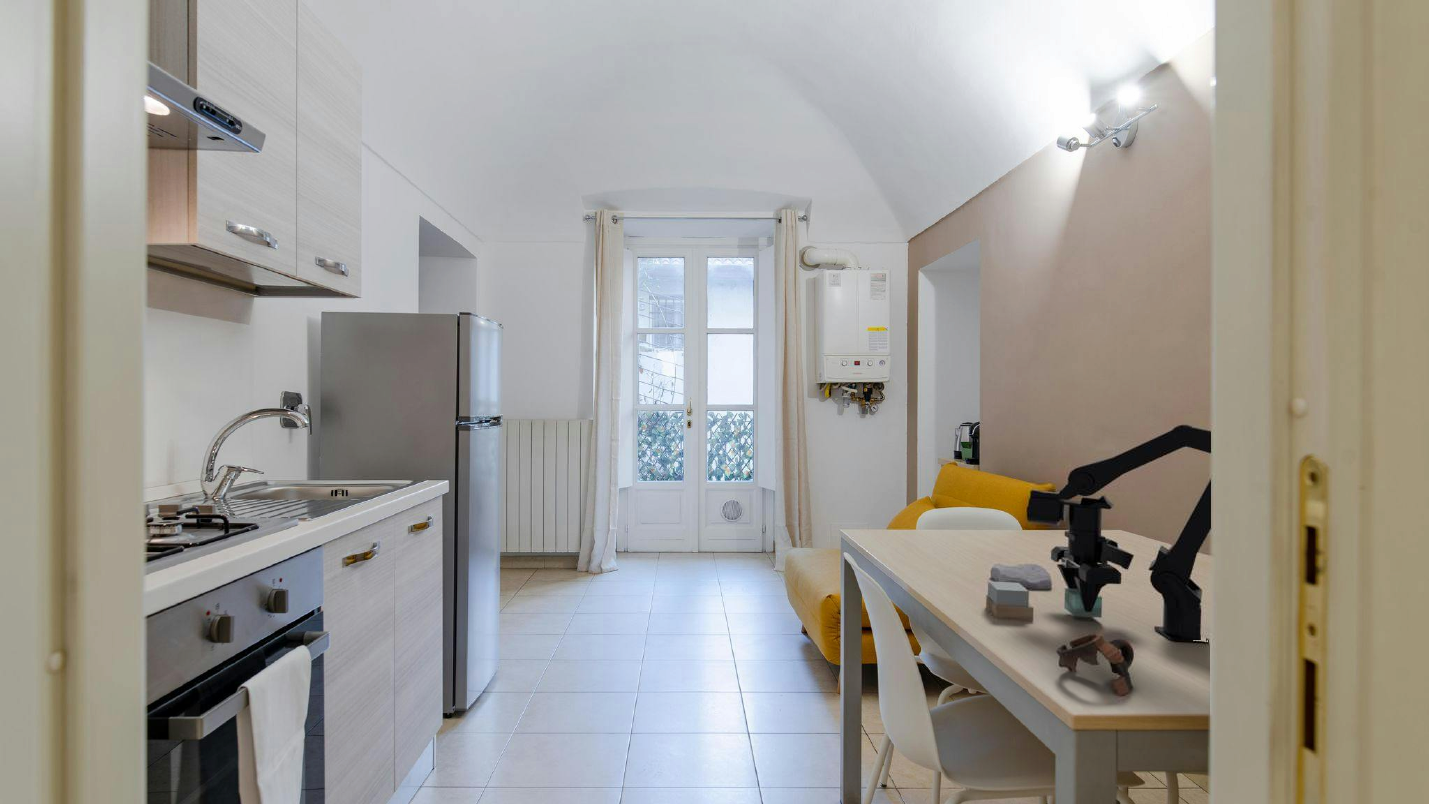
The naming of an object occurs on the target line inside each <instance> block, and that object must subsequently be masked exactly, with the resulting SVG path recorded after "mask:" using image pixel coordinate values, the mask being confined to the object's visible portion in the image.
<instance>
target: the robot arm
mask: <svg viewBox="0 0 1429 804" xmlns="http://www.w3.org/2000/svg"><path fill="white" fill-rule="evenodd" d="M1211 431H1212V430H1207V429H1203V428H1199V427H1193V425H1190V424H1184V423H1183V424H1182V423H1181V424H1180V425H1177V426H1175V427H1174V428H1173V429H1171V430H1169V431H1167V432H1165V433H1163V434H1160V435H1158V436H1156V437H1154V438H1152V439H1149V440H1147V441H1145V442H1144V443H1141V444H1138V445H1137V446H1134V447H1132V448H1130V449H1127V450H1126V451H1124V452H1122V453H1120V454H1117V455H1115V456H1112V457H1108V458H1104V459H1100V460H1096V461H1093V462H1089V463H1085V464H1082V465H1080V466H1078V467H1075V468H1074V469H1072V470H1071V471H1070V472H1069V474H1068V477H1067V484H1066V485H1065V486H1064V487H1063V488H1061V489H1059V492H1057V491H1056V492H1054V491H1045V490H1042V489H1041V490H1040V489H1034V488H1033V489H1031V490H1030V491H1029V492H1030V493H1029V495H1030V496H1029V498H1028V503H1027V506H1026V520H1027V522H1028V523H1032V524H1033V523H1034V524H1041V525H1049V526H1058V527H1059V526H1060V524H1061V522H1066V521H1067V515H1068V529H1067V530H1064V537H1066V538H1067V541H1068V542H1067V546H1056V545H1055V546H1054V547H1053V548H1052V549H1051V550H1050V560H1052V561H1054V563H1057V564H1056V566H1057V569H1058V570H1059V572H1060V574H1061V577H1062V578H1063V580H1064V582H1065V585H1066V588H1067V589H1078V590H1079V594H1080V597H1081V600H1082V603H1083V606H1084V609H1085V611H1086V612H1092V610H1093V607H1094V605H1095V602H1096V599H1097V597H1098V595H1100V592H1101V590H1102V588H1104V587H1105V586H1106V585H1121V584H1122V573H1121V572H1120V571H1119V569H1117V568H1116V567H1114V566H1112V565H1110V564H1109V563H1111V564H1114V565H1116V566H1118V567H1121V568H1122V569H1124V570H1127V571H1128V570H1129V568H1130V566H1131V563H1132V561H1133V559H1134V557H1135V554H1133V553H1131V552H1128V551H1126V550H1124V549H1122V548H1119V545H1118V542H1117V541H1115V540H1112V539H1110V538H1106V536H1104V535H1102V517H1103V516H1102V515H1103V513H1102V512H1103V510H1111V509H1112V508H1113V507H1114V506H1115V505H1114V503H1113V502H1111V501H1110V500H1109V499H1108V498H1107V497H1106V495H1105V494H1103V495H1102V496H1100V497H1099V498H1094V497H1089V496H1093V495H1094V494H1096V493H1097V492H1099V491H1101V490H1102V489H1103V488H1105V487H1106V486H1108V485H1110V483H1111V484H1112V483H1113V482H1114V481H1115V480H1117V479H1118V478H1120V477H1121V476H1123V475H1124V474H1126V473H1128V472H1132V471H1133V470H1137V469H1138V468H1140V467H1143V466H1144V465H1147V464H1149V463H1151V462H1153V461H1155V460H1158V459H1160V458H1162V457H1163V458H1164V456H1167V455H1169V454H1171V453H1174V452H1176V451H1178V450H1181V449H1183V448H1190V449H1194V450H1198V451H1201V452H1204V453H1207V454H1211ZM1077 496H1081V500H1080V501H1078V500H1077V501H1076V500H1072V499H1073V498H1075V497H1077ZM1211 530H1212V528H1211V477H1210V479H1209V480H1208V481H1207V485H1206V486H1205V487H1204V490H1203V491H1202V493H1201V495H1200V497H1199V499H1198V501H1197V503H1196V504H1195V506H1194V508H1193V510H1192V512H1191V513H1190V515H1189V517H1188V519H1187V520H1186V522H1185V525H1184V526H1183V529H1182V530H1181V531H1180V534H1179V535H1178V537H1177V539H1176V541H1175V542H1174V543H1173V544H1172V545H1171V546H1170V547H1169V548H1167V547H1165V546H1164V545H1160V547H1159V550H1158V551H1157V555H1156V558H1155V559H1153V560H1152V561H1151V563H1150V565H1149V568H1148V571H1151V573H1150V576H1149V579H1150V583H1151V586H1152V587H1153V589H1154V590H1155V591H1157V592H1158V593H1159V594H1160V595H1161V596H1162V600H1163V608H1162V609H1163V610H1162V611H1163V612H1162V614H1163V615H1162V626H1156V625H1155V626H1154V628H1153V629H1154V630H1155V631H1157V633H1159V634H1161V635H1162V636H1164V637H1166V638H1167V639H1169V640H1170V641H1173V642H1186V641H1193V640H1201V635H1202V633H1201V632H1202V604H1201V603H1202V596H1203V589H1202V588H1201V587H1200V586H1199V585H1198V584H1197V583H1196V582H1195V581H1194V580H1193V579H1191V575H1192V573H1193V569H1194V566H1195V562H1196V558H1197V556H1198V553H1199V551H1200V549H1201V547H1202V546H1203V544H1204V542H1205V541H1206V539H1207V537H1208V535H1209V533H1210V532H1211ZM1060 560H1061V561H1060ZM1059 562H1060V563H1059ZM1108 562H1109V563H1108ZM1058 563H1059V564H1058ZM1207 640H1208V643H1209V640H1210V639H1209V638H1207V637H1206V641H1207ZM1209 644H1210V643H1209Z"/></svg>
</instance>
